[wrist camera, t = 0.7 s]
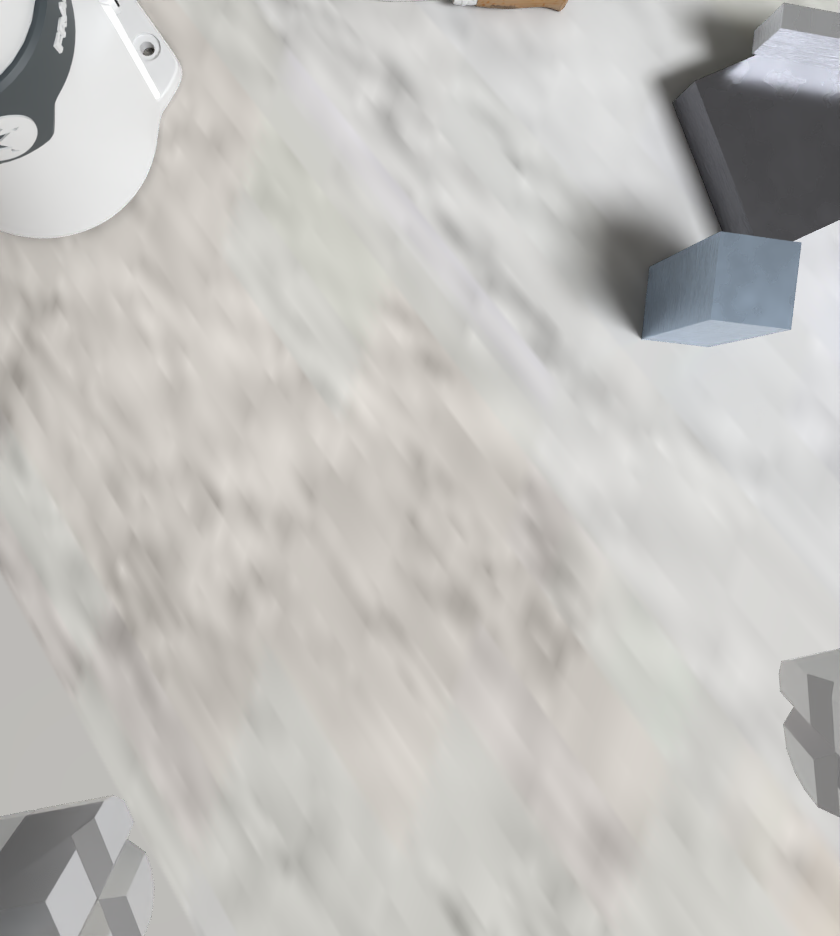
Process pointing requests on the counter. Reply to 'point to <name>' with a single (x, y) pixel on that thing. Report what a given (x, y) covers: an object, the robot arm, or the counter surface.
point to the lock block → (722, 291)
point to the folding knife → (508, 3)
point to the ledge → (772, 128)
